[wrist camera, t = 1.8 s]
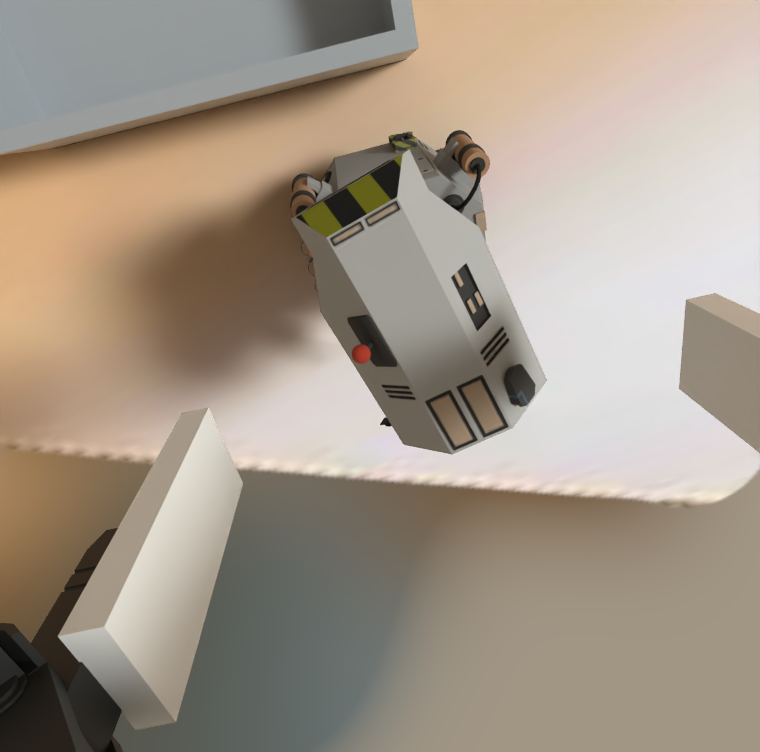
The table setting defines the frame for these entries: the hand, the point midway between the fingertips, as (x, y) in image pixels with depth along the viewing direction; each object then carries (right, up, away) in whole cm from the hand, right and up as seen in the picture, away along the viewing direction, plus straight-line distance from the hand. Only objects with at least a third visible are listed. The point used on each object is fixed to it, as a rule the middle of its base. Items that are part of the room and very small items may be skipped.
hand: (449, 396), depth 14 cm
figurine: (-1, +8, +15) cm, 18 cm away
